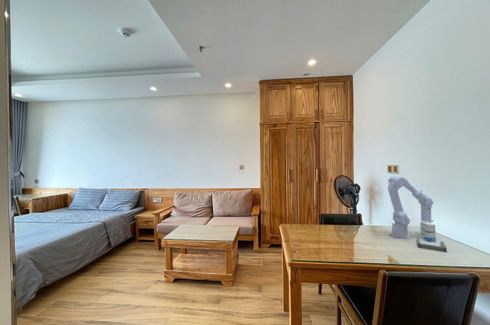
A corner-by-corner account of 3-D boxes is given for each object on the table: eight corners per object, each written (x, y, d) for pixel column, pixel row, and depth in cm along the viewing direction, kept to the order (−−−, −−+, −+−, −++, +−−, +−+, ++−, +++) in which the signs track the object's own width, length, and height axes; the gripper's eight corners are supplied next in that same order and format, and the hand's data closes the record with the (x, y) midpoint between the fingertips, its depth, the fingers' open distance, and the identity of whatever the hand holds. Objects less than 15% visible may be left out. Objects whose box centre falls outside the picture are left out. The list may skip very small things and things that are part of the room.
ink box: (436, 242, 145) (435, 224, 145) (427, 241, 146) (427, 224, 146) (428, 237, 153) (427, 221, 153) (420, 237, 154) (419, 221, 154)
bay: (418, 247, 137) (418, 243, 137) (416, 241, 147) (416, 237, 147) (446, 252, 129) (446, 248, 129) (443, 245, 139) (442, 241, 139)
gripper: (434, 216, 148) (435, 236, 148) (431, 212, 160) (432, 230, 160) (421, 215, 152) (422, 234, 152) (419, 211, 164) (420, 228, 164)
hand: (426, 232), depth 156 cm, fingers closed
